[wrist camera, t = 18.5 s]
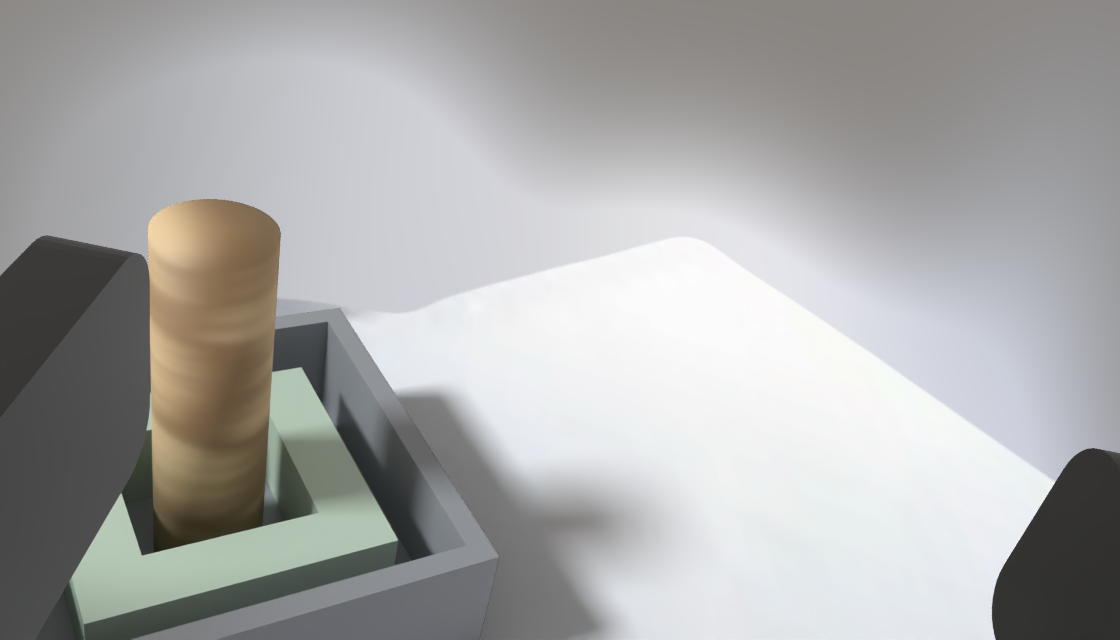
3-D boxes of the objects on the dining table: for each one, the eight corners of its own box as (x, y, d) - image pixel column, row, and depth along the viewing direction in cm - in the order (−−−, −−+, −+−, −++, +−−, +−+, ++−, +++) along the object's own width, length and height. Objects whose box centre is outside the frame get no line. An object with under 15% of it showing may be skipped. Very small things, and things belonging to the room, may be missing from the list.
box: (330, 397, 57) (339, 307, 54) (476, 652, 46) (499, 556, 42) (-46, 467, 48) (-63, 363, 45) (14, 809, 36) (-2, 702, 33)
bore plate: (296, 429, 53) (301, 367, 51) (387, 604, 45) (398, 540, 43) (35, 480, 47) (28, 412, 45) (89, 694, 39) (83, 624, 37)
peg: (244, 496, 49) (259, 195, 40) (274, 566, 46) (297, 256, 37) (142, 520, 47) (134, 204, 38) (168, 594, 44) (166, 271, 35)
